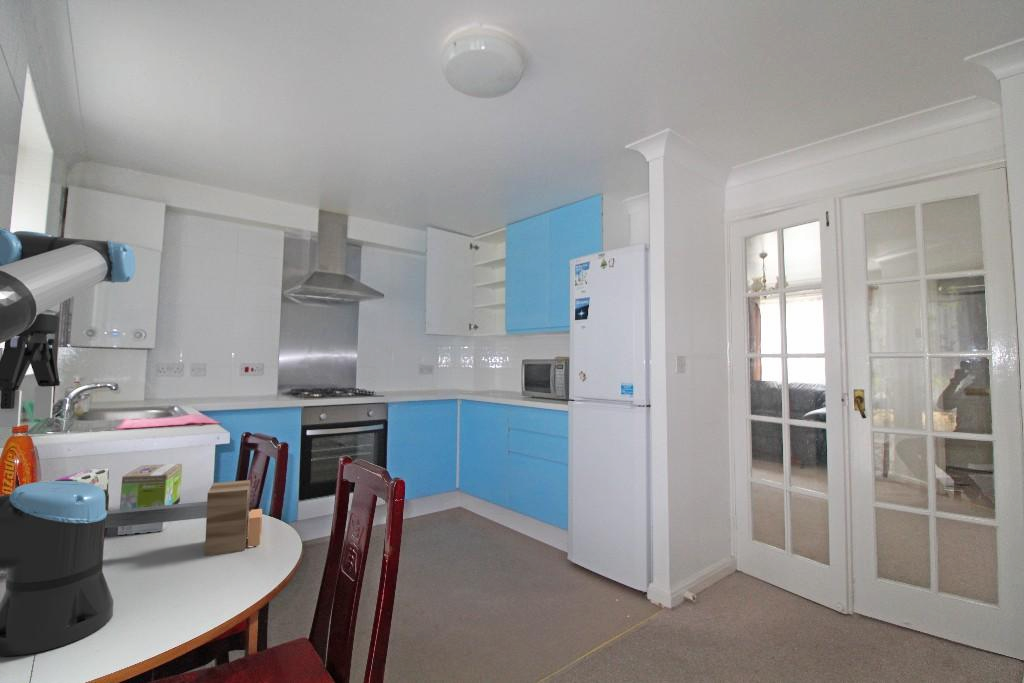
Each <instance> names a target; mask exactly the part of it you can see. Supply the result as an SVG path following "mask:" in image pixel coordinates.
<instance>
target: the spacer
mask: <svg viewBox="0 0 1024 683" xmlns="http://www.w3.org/2000/svg"><path fill="white" fill-rule="evenodd" d="M262 521H263V508H256V509H250V511H249V521H248V538H247V547H248V546H258V545H261V541H260V540H262V526H263V524H262V523H263V522H262Z"/></svg>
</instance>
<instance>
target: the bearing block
mask: <svg viewBox="0 0 1024 683" xmlns="http://www.w3.org/2000/svg"><path fill="white" fill-rule="evenodd" d="M250 492H251V480H250V479H247V480H235V481H234V480H233V481H222V482H220V481H219V482H213V483H212V485H211V486H210V488H209V490H208V491H207V497H206V499H207V500H206V502H207V518H205V519H206V520H205V521H206V522H205V524H206V525H205V543H204V544H205V545H204V556H205V557H206V556H214V555H213V554H215V555H219V554H220V555H221V553H222V554H228V553H227V552H230V553H235V552H234V551H238V552H241V551H240V550H245V551H246V548H245V547H247V543H248V538H247V537H248V527H249V516H250V494H251V493H250ZM246 542H247V543H246Z"/></svg>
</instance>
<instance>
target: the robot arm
mask: <svg viewBox="0 0 1024 683" xmlns="http://www.w3.org/2000/svg"><path fill="white" fill-rule="evenodd" d="M135 255H136V254H135V253H134V250H133V248H132V246H130V245H129V244H128V243H125V242H117V241H111V240H98V239H96V240H95V239H84V238H83V239H81V238H73V237H72V238H71V237H62V236H61V237H60V236H55V235H51V234H47V233H43V232H36V231H27V230H23V231H22V230H17V231H15V232H11V231H10V230H7V229H6V228H0V344H2V343H4V346H3V347H4V348H3V351H2V354H1V357H0V428H17V427H20V424H21V412H22V410H21V409H22V397H23V396H22V394H23V392H22V391H23V390H20V388H21V385H22V383H23V380H24V378H25V375H26V374H27V372H28V370H29V367H30V366H31V369H32V372H33V374H34V375H33V376H34V377H35V380H36V384H37V386H34V398H33V411H32V412H33V415H32V418H33V419H35V420H36V419H52V418H53V406H54V404H53V402H54V387H60V385H61V381H60V377H59V371H58V369H59V368H58V364H57V356H56V351H55V346H56V345H55V343H56V341H55V338H48V337H47V335H55V334H58V333H59V331H60V317H59V315H58V313H59V312H61V311H60V307H61V304H62V303H63V302H65V301H67V300H69V299H71V298H73V297H75V296H76V295H79V294H81V293H83V292H85V291H87V290H88V289H90V288H93V287H95V286H96V285H99V284H101V283H102V282H103V283H104V282H109V283H113V284H114V283H128V282H130V281H131V280H132V279H133V278H134V275H135V273H136V257H135ZM56 314H57V315H56ZM106 516H107V511H106V508H105V492H104V491H103V489H102V488H100V487H98V486H96V485H94V484H90V483H85V482H77V481H55V480H52V481H51V480H50V481H39V482H38V481H37V482H31V483H27V484H21V485H19V486H16V488H14V489H13V490H12V492H11V493H10V494H0V572H6V573H5V574H6V577H5V578H6V579H5V591H4V593H3V596H2V598H1V601H0V656H1V657H13V656H16V657H17V656H23V655H30V654H37V653H41V652H44V651H48V650H52V649H55V648H59V647H62V646H66V645H68V644H71V643H73V642H77V641H79V640H80V639H83V638H86V637H88V636H90V635H92V634H93V633H95V632H97V631H99V630H100V629H102V628H103V627H105V625H107V624H108V623H109V622H110V620H111V619H112V618H113V615H114V598H113V595H112V592H111V591H110V589H109V585H108V582H107V581H106V578H105V575H104V573H103V565H104V564H103V560H104V548H105V546H104V545H105V535H104V533H105V518H106Z"/></svg>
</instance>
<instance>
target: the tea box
mask: <svg viewBox="0 0 1024 683" xmlns="http://www.w3.org/2000/svg"><path fill="white" fill-rule="evenodd" d="M182 470H183V464H182V463H170V464H169V463H168V464H167V463H166V464H145V465H141V466H139V467H137V468H136V469H133V470H132V471H130V472H128V473H126V474H124V475H123V476H122V478H121V489H120V501H119V509H128V508H139V507H151V506H162V505H173V504H181V503H180V502H181V490H182V489H181V486H182V474H183V471H182ZM171 522H172V521H170V522H160V523H150V524H140V525H130V526H120V527H117V535H118V536H120V535H121V536H122V535H124V536H125V534H127V535H136V534H135V533H140V534H147V532H151V533H158V532H157V531H160V532H163V531H164V530H165V529H166V528H167V527H168V526H169V525H170V524H171Z"/></svg>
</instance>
